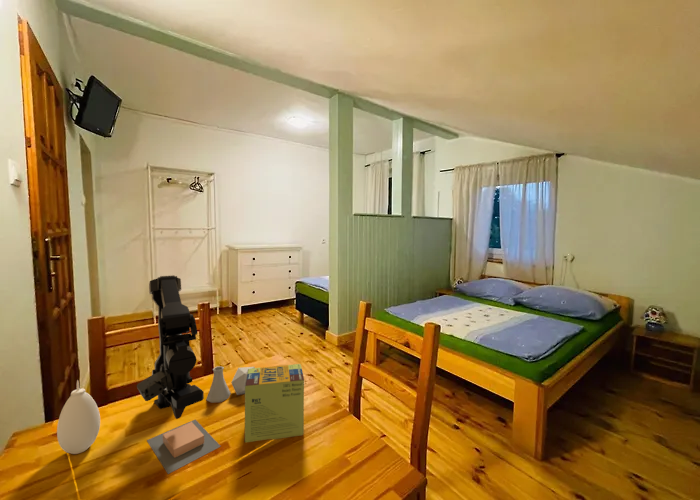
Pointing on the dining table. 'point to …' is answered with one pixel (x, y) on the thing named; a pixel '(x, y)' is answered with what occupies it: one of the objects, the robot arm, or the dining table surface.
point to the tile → (183, 439)
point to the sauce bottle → (78, 422)
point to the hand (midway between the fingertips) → (177, 417)
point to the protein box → (274, 402)
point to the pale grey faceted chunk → (240, 380)
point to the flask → (218, 387)
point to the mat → (182, 460)
